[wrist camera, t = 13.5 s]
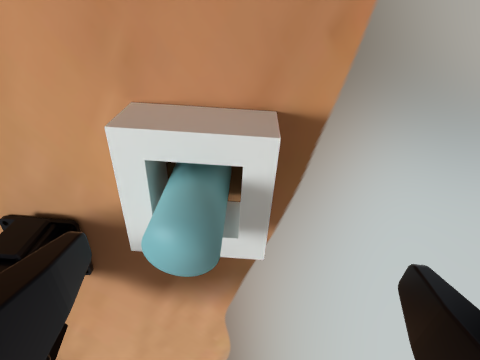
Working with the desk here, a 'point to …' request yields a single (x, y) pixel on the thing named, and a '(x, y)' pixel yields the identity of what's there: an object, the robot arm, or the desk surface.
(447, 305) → the robot arm
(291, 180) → the desk surface
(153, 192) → the socket
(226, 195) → the peg
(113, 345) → the desk surface
